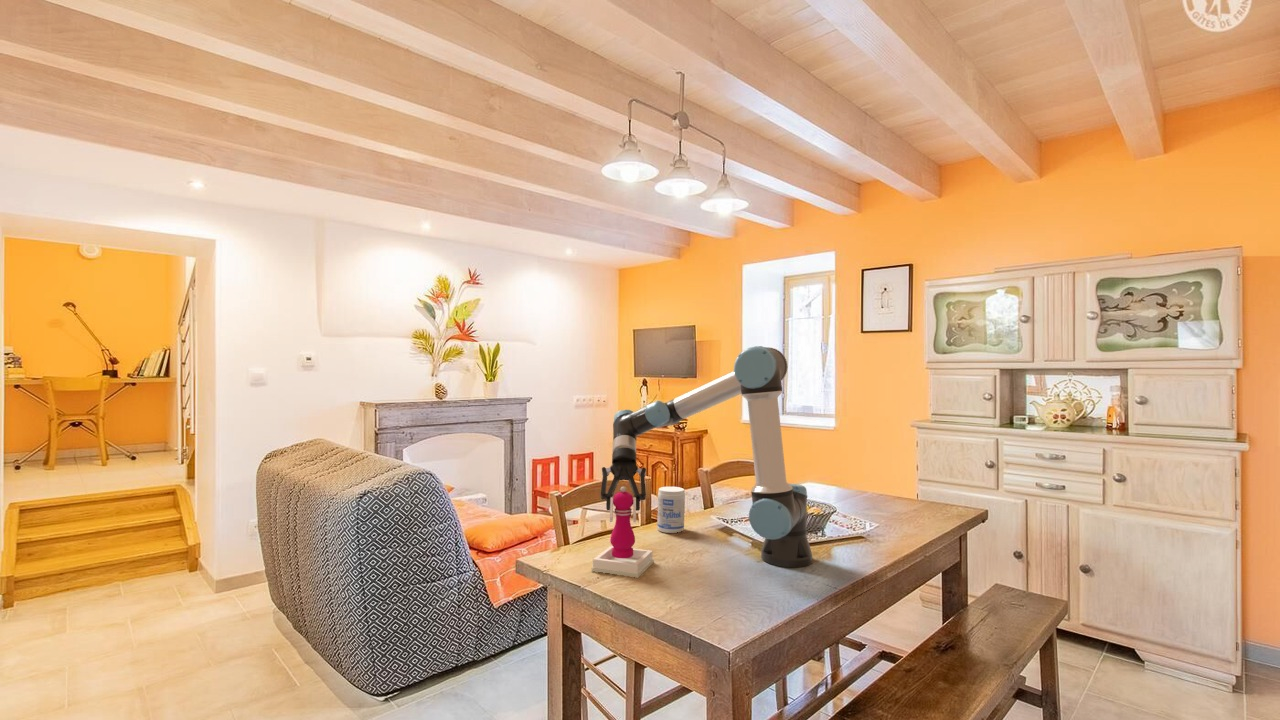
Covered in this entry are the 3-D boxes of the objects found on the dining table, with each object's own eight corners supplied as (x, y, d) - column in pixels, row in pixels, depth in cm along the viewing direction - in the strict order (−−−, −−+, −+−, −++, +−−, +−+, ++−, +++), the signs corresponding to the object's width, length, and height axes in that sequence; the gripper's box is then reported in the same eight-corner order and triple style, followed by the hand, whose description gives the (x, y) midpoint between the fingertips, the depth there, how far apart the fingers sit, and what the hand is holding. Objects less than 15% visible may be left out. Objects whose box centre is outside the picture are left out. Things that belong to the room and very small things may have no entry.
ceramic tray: (653, 562, 180) (653, 550, 180) (637, 577, 167) (638, 565, 167) (610, 556, 185) (610, 545, 185) (591, 571, 171) (591, 559, 171)
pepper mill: (619, 560, 171) (619, 490, 171) (605, 554, 177) (606, 485, 177) (639, 556, 175) (640, 487, 175) (625, 549, 181) (626, 483, 181)
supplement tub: (662, 534, 209) (662, 492, 209) (653, 527, 218) (654, 486, 218) (688, 532, 211) (688, 490, 212) (678, 525, 221) (679, 485, 221)
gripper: (654, 460, 191) (655, 526, 175) (594, 460, 191) (590, 526, 175) (655, 446, 186) (656, 512, 170) (593, 445, 186) (589, 512, 169)
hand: (622, 519), depth 172 cm, fingers closed on pepper mill, 6 cm apart
